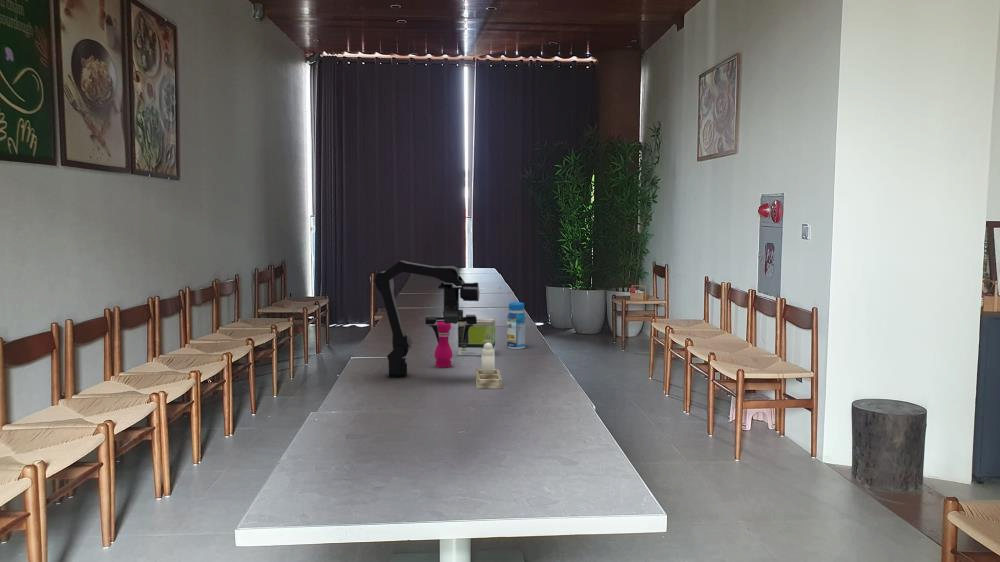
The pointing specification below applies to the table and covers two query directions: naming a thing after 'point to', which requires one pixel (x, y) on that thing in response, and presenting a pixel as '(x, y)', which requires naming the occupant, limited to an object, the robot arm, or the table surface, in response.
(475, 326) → the tea box
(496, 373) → the divided wooden tray
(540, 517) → the table surface
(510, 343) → the beverage bottle
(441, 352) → the pepper mill
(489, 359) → the white pawn figure
